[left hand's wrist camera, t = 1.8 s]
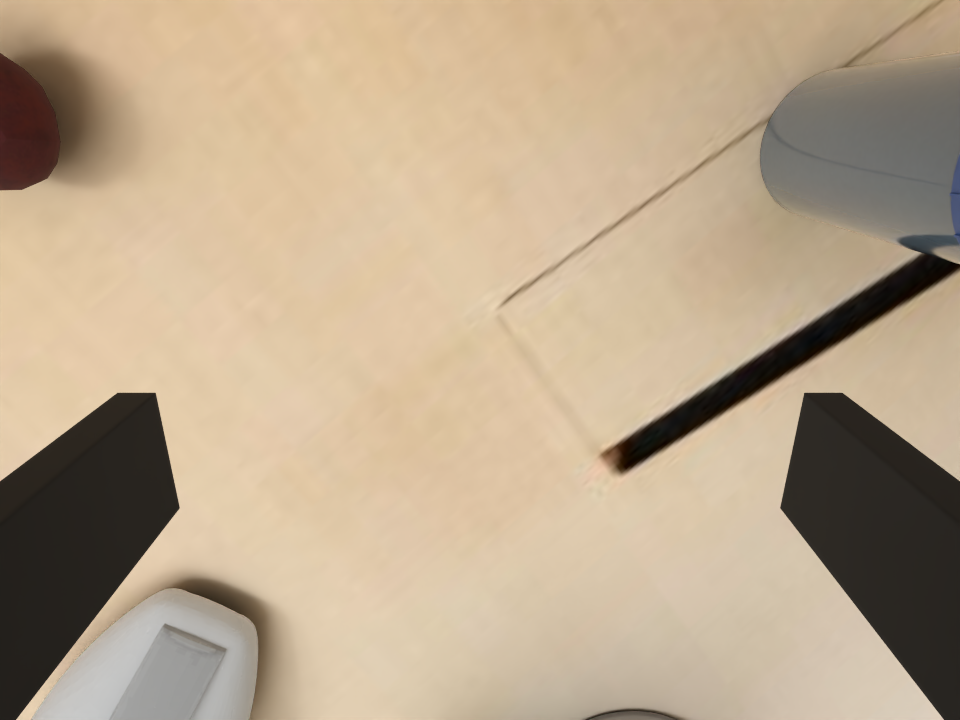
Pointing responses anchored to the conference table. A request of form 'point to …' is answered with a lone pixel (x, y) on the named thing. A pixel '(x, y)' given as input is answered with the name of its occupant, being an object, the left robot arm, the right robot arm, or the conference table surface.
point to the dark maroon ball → (25, 129)
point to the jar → (872, 151)
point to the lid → (956, 200)
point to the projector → (163, 665)
